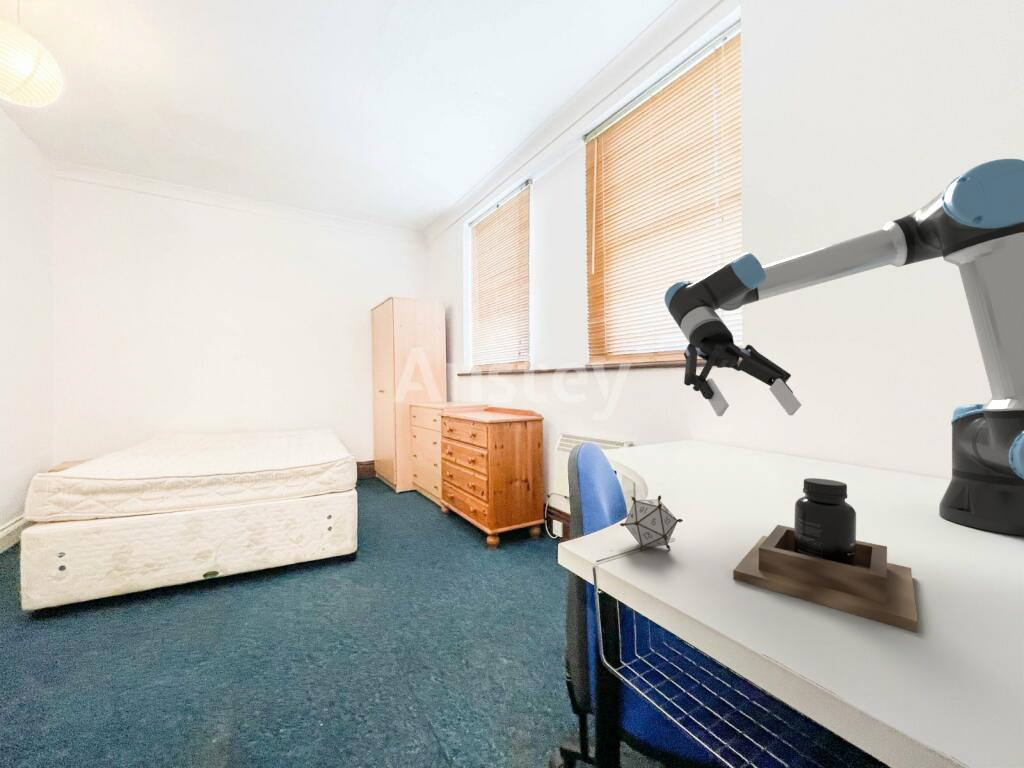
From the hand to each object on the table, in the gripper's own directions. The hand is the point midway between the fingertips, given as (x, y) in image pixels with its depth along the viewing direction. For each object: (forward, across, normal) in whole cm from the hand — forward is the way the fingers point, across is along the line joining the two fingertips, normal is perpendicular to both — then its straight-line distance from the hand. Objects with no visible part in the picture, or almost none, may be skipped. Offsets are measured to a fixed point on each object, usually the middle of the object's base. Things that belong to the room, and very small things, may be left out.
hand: (760, 410), depth 72 cm
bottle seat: (+25, +2, -6) cm, 26 cm away
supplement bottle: (+25, +2, -5) cm, 25 cm away
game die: (+16, +20, -15) cm, 30 cm away
